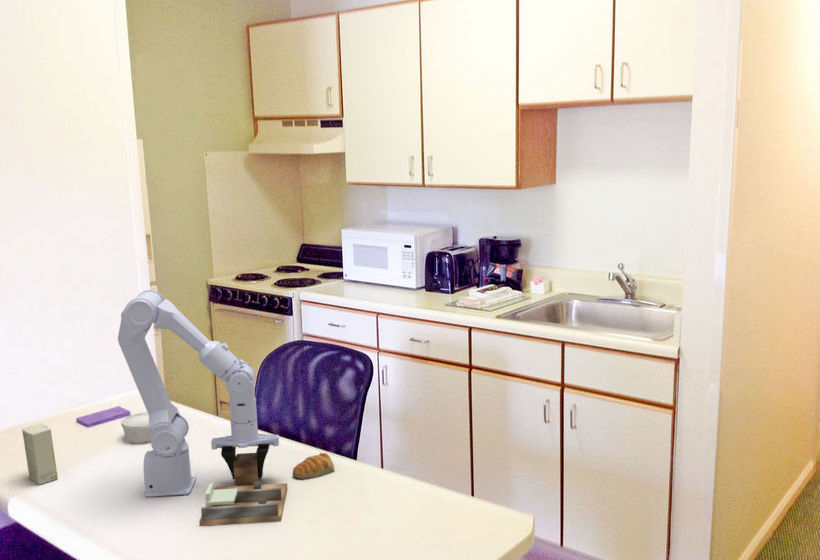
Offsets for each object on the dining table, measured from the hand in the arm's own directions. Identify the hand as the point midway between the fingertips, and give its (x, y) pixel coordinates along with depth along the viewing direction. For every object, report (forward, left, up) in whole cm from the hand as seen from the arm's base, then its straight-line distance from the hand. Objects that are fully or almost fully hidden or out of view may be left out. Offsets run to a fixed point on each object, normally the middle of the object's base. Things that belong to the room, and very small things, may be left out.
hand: (247, 477), depth 167 cm
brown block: (0, 0, -1) cm, 1 cm away
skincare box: (-48, +9, -2) cm, 49 cm away
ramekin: (-31, +32, -2) cm, 44 cm away
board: (+1, -11, -1) cm, 11 cm away
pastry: (+15, +4, -2) cm, 15 cm away
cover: (-3, -15, +2) cm, 15 cm away
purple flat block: (-47, +47, -2) cm, 67 cm away
